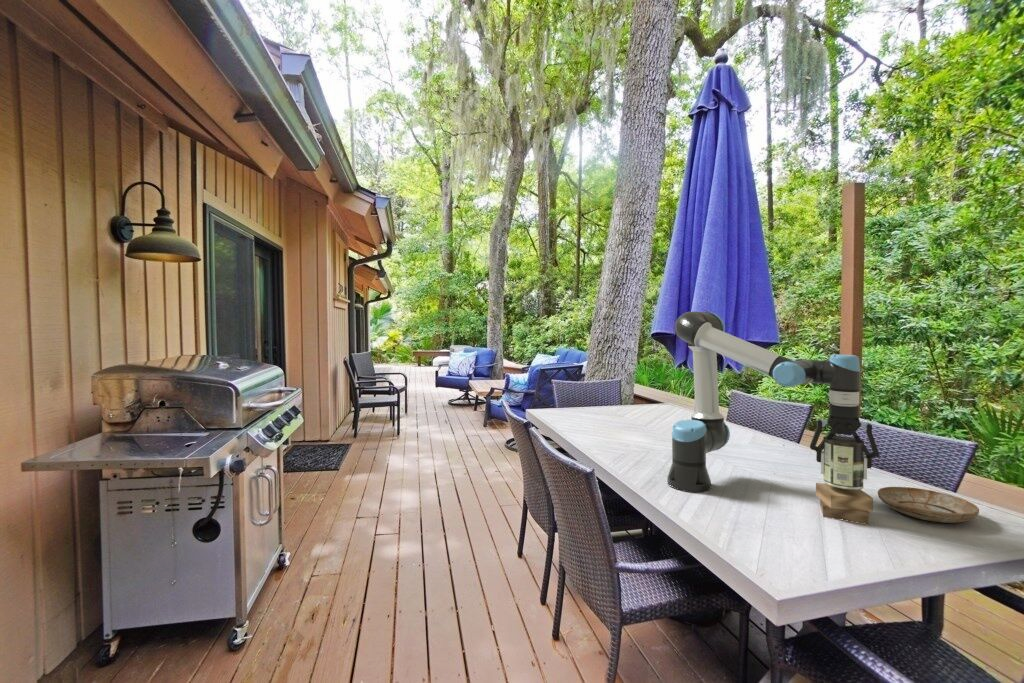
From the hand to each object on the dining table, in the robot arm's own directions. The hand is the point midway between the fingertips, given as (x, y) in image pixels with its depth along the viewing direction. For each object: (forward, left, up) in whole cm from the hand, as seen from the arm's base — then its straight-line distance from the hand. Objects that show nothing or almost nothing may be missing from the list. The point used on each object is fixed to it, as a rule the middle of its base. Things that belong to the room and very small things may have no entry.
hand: (842, 475), depth 140 cm
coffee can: (0, 0, -3) cm, 3 cm away
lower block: (0, 0, -13) cm, 13 cm away
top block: (0, 0, -9) cm, 9 cm away
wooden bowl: (+22, +13, -13) cm, 29 cm away
